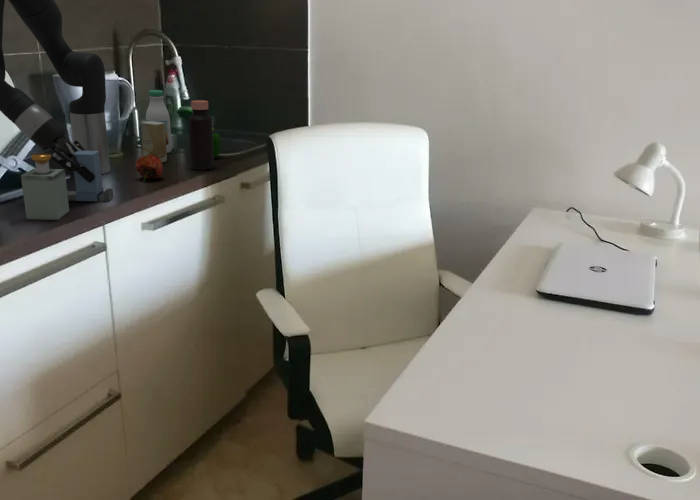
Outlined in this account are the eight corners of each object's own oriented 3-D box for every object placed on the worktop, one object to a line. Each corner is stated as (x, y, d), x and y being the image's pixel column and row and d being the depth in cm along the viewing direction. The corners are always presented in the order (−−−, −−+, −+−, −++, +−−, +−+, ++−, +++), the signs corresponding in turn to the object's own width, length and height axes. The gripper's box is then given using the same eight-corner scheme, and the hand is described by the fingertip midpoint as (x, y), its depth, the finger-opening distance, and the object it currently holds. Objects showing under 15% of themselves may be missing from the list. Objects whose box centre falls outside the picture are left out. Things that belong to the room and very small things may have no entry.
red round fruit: (160, 190, 189) (173, 163, 194) (146, 173, 183) (160, 145, 189) (138, 190, 192) (151, 163, 197) (124, 172, 186) (138, 145, 191)
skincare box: (142, 161, 212) (139, 122, 208) (151, 159, 216) (148, 120, 212) (159, 164, 210) (157, 124, 206) (168, 161, 214) (165, 122, 210)
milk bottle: (153, 148, 231) (149, 88, 224) (175, 150, 230) (172, 89, 223) (144, 153, 224) (139, 91, 217) (166, 154, 223) (162, 92, 216)
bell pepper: (188, 157, 220) (187, 126, 216) (209, 154, 226) (208, 124, 222) (205, 161, 214) (204, 130, 211) (225, 158, 220) (224, 127, 217)
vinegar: (194, 165, 209) (191, 99, 202) (216, 166, 209) (213, 100, 202) (188, 170, 203) (185, 102, 196) (211, 171, 203) (208, 103, 196)
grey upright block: (39, 210, 160) (33, 168, 157) (69, 210, 160) (64, 169, 157) (26, 219, 153) (20, 175, 150) (58, 219, 154) (53, 176, 150)
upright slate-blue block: (84, 194, 173) (79, 150, 169) (104, 195, 173) (99, 150, 169) (76, 200, 167) (71, 154, 164) (97, 201, 168) (92, 155, 164)
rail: (31, 196, 171) (30, 186, 170) (113, 197, 172) (112, 188, 171) (25, 199, 168) (24, 190, 167) (109, 201, 169) (108, 192, 168)
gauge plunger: (39, 182, 156) (35, 152, 154) (57, 183, 156) (53, 153, 154) (32, 187, 153) (28, 156, 150) (50, 187, 153) (46, 156, 150)
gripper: (38, 121, 156) (97, 174, 161) (61, 112, 170) (114, 161, 174) (18, 143, 158) (76, 195, 163) (42, 133, 171) (95, 181, 176)
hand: (96, 177), depth 168 cm, fingers closed on upright slate-blue block, 4 cm apart
